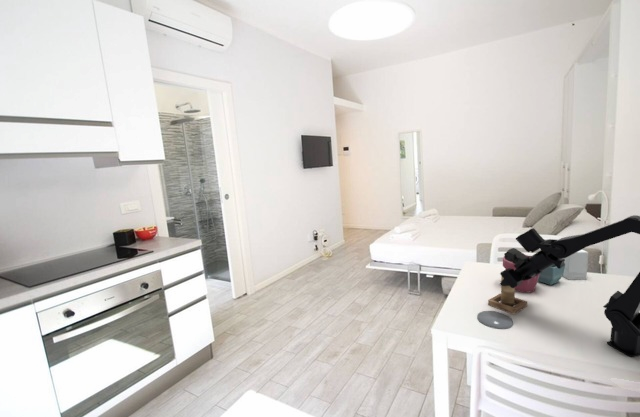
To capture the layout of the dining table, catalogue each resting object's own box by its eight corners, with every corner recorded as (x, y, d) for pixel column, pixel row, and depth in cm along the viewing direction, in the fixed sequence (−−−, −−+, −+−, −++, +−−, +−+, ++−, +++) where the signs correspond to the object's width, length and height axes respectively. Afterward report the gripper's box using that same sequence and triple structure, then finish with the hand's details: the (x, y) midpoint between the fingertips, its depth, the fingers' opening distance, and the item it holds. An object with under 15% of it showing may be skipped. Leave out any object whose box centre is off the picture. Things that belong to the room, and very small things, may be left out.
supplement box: (587, 280, 131) (589, 252, 129) (567, 279, 132) (569, 252, 130) (576, 273, 138) (578, 247, 136) (558, 273, 139) (559, 247, 137)
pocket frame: (527, 306, 113) (527, 301, 113) (514, 314, 109) (514, 309, 108) (501, 297, 121) (501, 292, 121) (488, 304, 116) (488, 299, 116)
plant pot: (534, 281, 133) (535, 254, 131) (548, 296, 120) (550, 265, 118) (497, 280, 137) (498, 253, 135) (508, 294, 124) (509, 264, 121)
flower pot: (530, 281, 134) (531, 261, 132) (542, 276, 137) (543, 257, 136) (552, 288, 126) (554, 267, 124) (564, 283, 129) (566, 263, 128)
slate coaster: (521, 326, 101) (521, 324, 101) (490, 330, 100) (490, 329, 100) (498, 310, 112) (498, 309, 112) (470, 314, 111) (470, 312, 111)
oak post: (517, 306, 113) (518, 275, 111) (506, 307, 112) (507, 277, 110) (508, 300, 117) (509, 271, 115) (498, 302, 117) (498, 272, 115)
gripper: (533, 238, 112) (502, 259, 123) (506, 249, 103) (475, 270, 114) (557, 263, 107) (522, 283, 118) (531, 277, 97) (496, 297, 108)
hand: (504, 282), depth 115 cm, fingers closed on oak post, 4 cm apart
